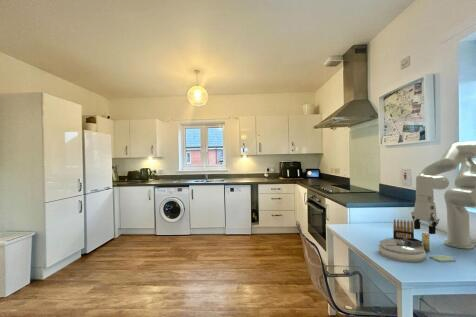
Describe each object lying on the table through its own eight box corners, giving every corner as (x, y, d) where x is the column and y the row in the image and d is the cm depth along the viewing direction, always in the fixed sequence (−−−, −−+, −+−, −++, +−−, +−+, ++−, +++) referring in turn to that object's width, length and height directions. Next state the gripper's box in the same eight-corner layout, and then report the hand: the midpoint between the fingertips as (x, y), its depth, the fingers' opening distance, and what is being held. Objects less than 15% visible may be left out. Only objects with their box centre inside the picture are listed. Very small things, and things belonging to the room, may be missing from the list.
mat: (444, 256, 129) (444, 255, 129) (455, 261, 123) (455, 259, 123) (429, 257, 128) (429, 255, 128) (440, 262, 122) (440, 260, 122)
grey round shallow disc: (404, 241, 142) (404, 234, 143) (434, 253, 124) (434, 245, 124) (371, 242, 141) (371, 235, 141) (396, 255, 122) (396, 246, 122)
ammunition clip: (393, 238, 160) (392, 219, 160) (393, 237, 162) (392, 218, 162) (414, 241, 154) (413, 220, 154) (414, 240, 156) (413, 220, 156)
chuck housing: (405, 247, 143) (405, 241, 143) (436, 261, 123) (436, 254, 123) (370, 249, 141) (370, 242, 141) (396, 263, 121) (396, 256, 121)
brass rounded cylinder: (426, 249, 139) (425, 232, 140) (431, 251, 136) (430, 234, 136) (420, 250, 139) (420, 233, 139) (425, 252, 136) (425, 234, 136)
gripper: (445, 201, 130) (445, 235, 129) (418, 196, 147) (418, 227, 147) (431, 201, 129) (431, 235, 129) (405, 196, 146) (405, 227, 146)
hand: (424, 231), depth 138 cm, fingers open, 9 cm apart
